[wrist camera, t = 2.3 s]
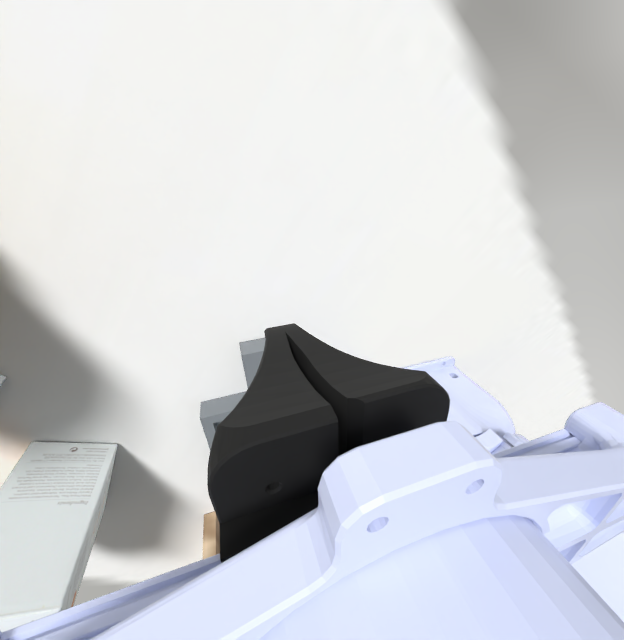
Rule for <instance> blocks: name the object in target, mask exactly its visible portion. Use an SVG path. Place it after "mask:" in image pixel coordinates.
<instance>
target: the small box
mask: <svg viewBox="0 0 624 640" xmlns="http://www.w3.org/2000/svg"><path fill="white" fill-rule="evenodd" d="M117 447H118V445H117V444H102V443H66V442H31V443H30V445H29V446H28V448H27V449H26V451H25V452H24V454H23V455H22V457H21V458H20V460H19V461H18V462H17V464H16V465H15V467H14V468H13V470H12V472H11V473H10V475H9V476H8V477H7V479H6V480H5V482H4V483H3V485H2V486H1V488H0V631H1V632H4V631H7V630H10V629H13V628H15V627H18V626H21V625H24V624H27V623H29V622H32V621H35V620H38V619H40V618H43V617H46V616H49V615H51V614H54V613H57V612H60V611H62V610H65V609H68V608H71V607H73V606H74V603H75V600H76V597H77V594H78V591H79V587H80V584H81V581H82V578H83V575H84V572H85V569H86V566H87V562H88V559H89V556H90V553H91V550H92V547H93V544H94V541H95V538H96V535H97V532H98V528H99V525H100V522H101V519H102V516H103V513H104V509H105V505H106V500H107V495H108V490H109V485H110V480H111V475H112V470H113V465H114V460H115V456H116V451H117Z"/></svg>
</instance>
